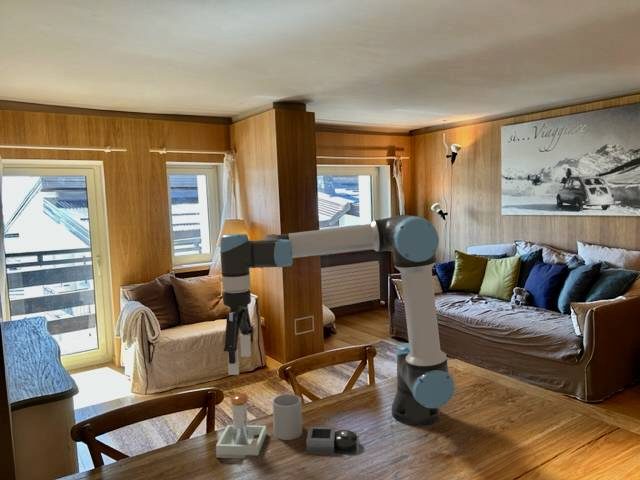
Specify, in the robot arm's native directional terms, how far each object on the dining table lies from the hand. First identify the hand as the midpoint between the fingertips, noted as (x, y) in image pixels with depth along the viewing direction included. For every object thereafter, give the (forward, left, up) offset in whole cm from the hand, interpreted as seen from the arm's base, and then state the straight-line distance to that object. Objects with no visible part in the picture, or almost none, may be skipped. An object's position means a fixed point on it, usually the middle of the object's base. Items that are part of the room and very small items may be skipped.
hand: (240, 364), depth 134 cm
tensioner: (-26, -1, -24) cm, 35 cm away
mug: (-12, -9, -24) cm, 28 cm away
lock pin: (+1, 0, -23) cm, 23 cm away
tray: (0, 0, -24) cm, 24 cm away
